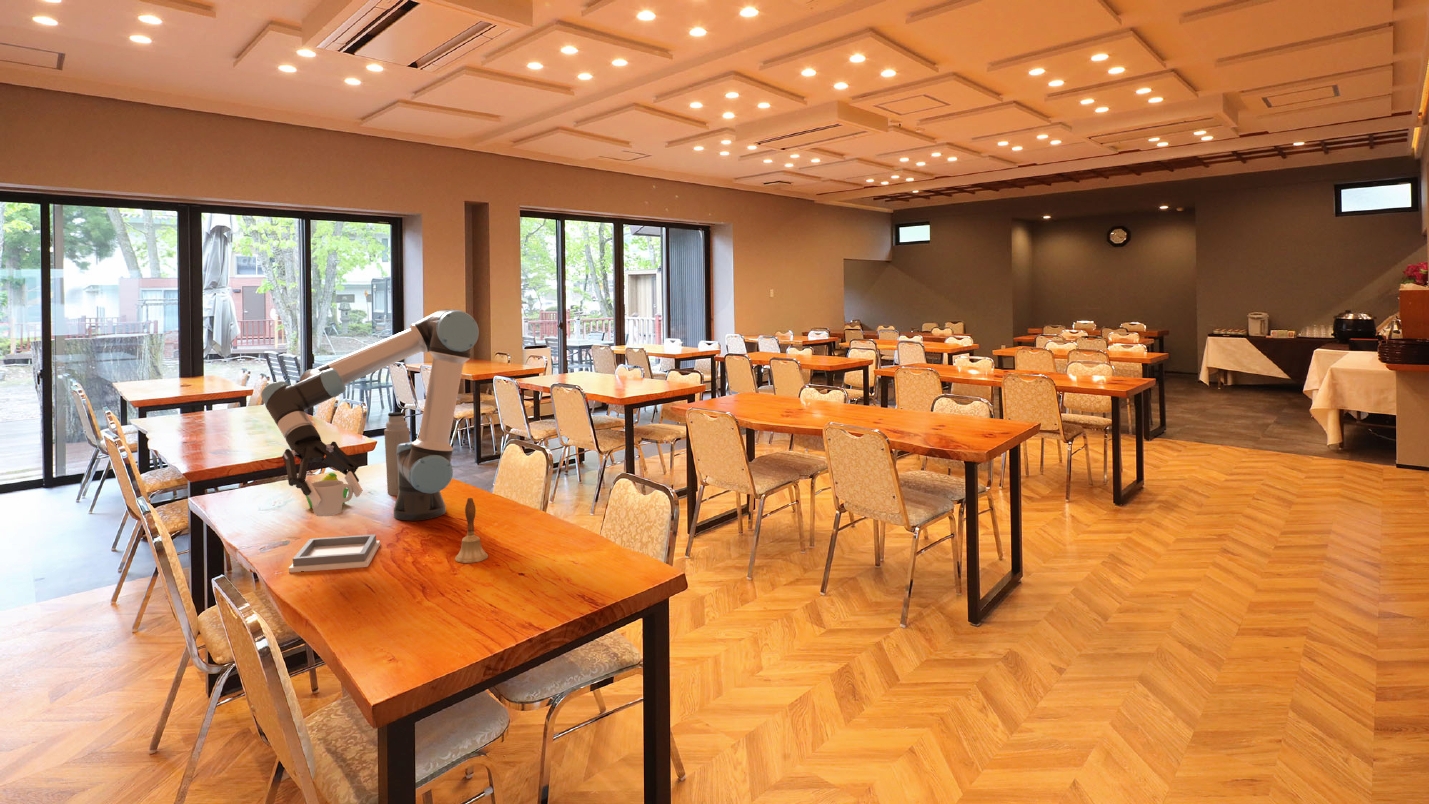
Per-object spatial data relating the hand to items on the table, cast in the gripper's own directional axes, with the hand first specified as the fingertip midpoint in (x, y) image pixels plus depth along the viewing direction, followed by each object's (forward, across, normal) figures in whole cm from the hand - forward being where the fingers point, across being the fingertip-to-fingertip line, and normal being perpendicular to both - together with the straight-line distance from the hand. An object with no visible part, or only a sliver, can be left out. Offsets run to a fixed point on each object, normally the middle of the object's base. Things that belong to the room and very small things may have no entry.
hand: (339, 498), depth 197 cm
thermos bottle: (-21, -52, -45) cm, 72 cm away
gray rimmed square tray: (+10, 0, -13) cm, 17 cm away
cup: (+1, 0, -5) cm, 5 cm away
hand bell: (+31, -18, +8) cm, 37 cm away
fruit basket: (-25, -29, -48) cm, 62 cm away
